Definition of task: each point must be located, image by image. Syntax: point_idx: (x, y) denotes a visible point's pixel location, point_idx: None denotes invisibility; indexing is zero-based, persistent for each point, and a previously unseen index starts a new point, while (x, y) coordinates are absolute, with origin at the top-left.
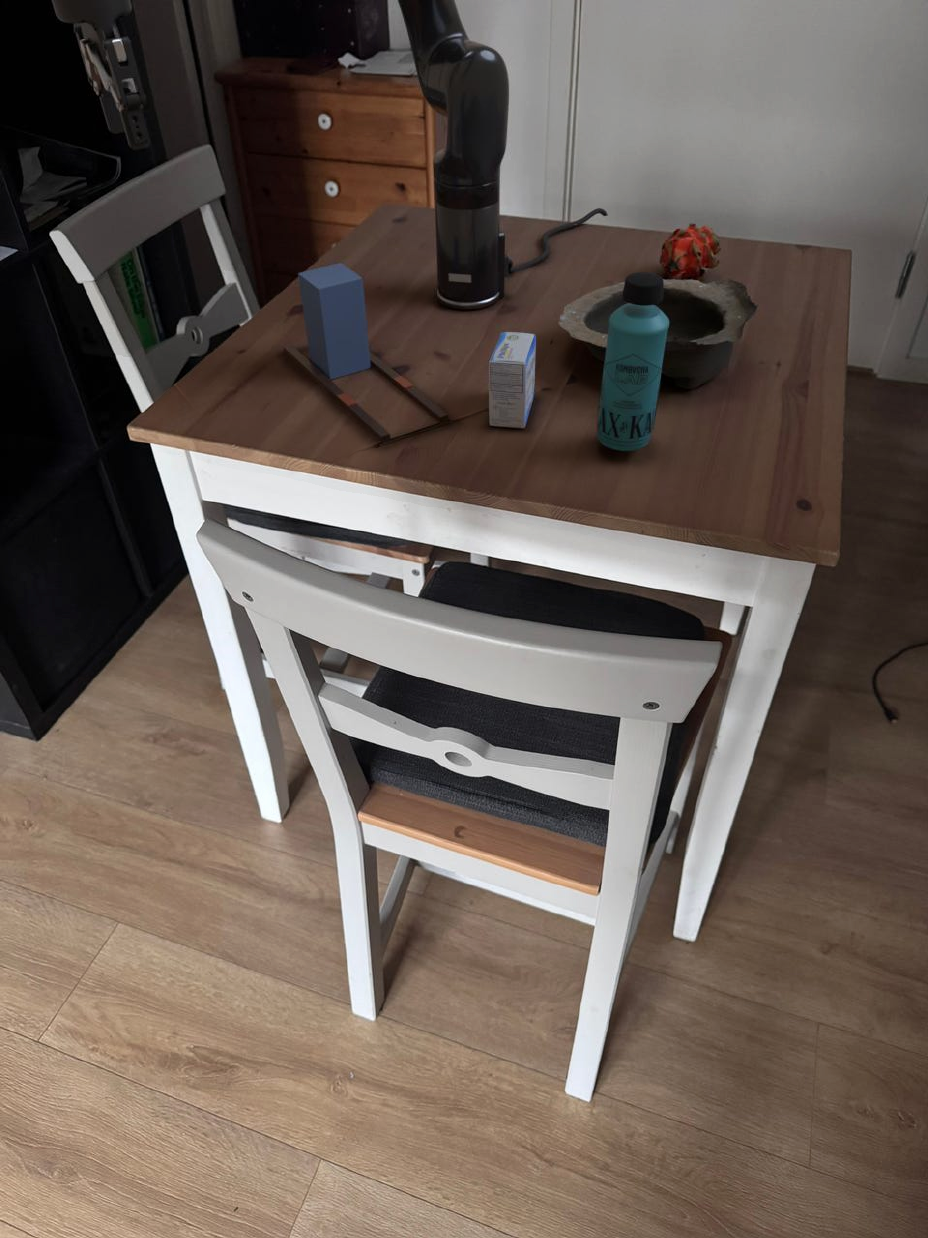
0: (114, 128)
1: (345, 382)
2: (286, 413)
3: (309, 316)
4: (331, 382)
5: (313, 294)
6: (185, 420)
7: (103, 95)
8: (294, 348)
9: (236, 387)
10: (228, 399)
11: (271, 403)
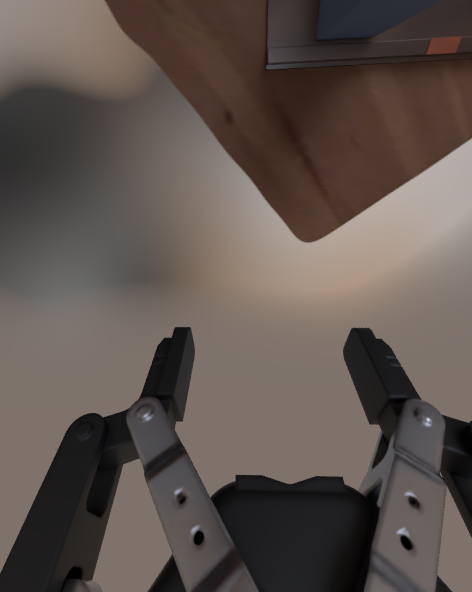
0: (193, 353)
1: None
2: (382, 127)
3: (362, 20)
4: (393, 43)
5: (415, 2)
6: (323, 217)
7: (175, 419)
8: (281, 49)
9: (300, 155)
10: (316, 171)
11: (353, 133)
